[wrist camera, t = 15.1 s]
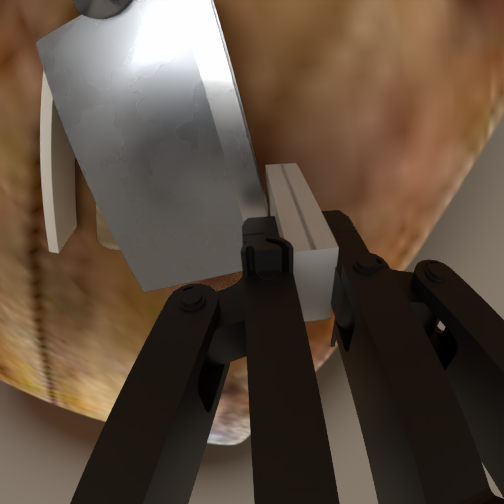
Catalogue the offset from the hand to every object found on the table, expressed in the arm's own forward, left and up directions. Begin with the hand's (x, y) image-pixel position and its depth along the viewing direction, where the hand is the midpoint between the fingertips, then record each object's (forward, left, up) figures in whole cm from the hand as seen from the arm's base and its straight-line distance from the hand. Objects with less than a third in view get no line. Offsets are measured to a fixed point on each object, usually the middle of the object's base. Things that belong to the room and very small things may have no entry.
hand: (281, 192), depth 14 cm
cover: (-6, +1, -2) cm, 7 cm away
